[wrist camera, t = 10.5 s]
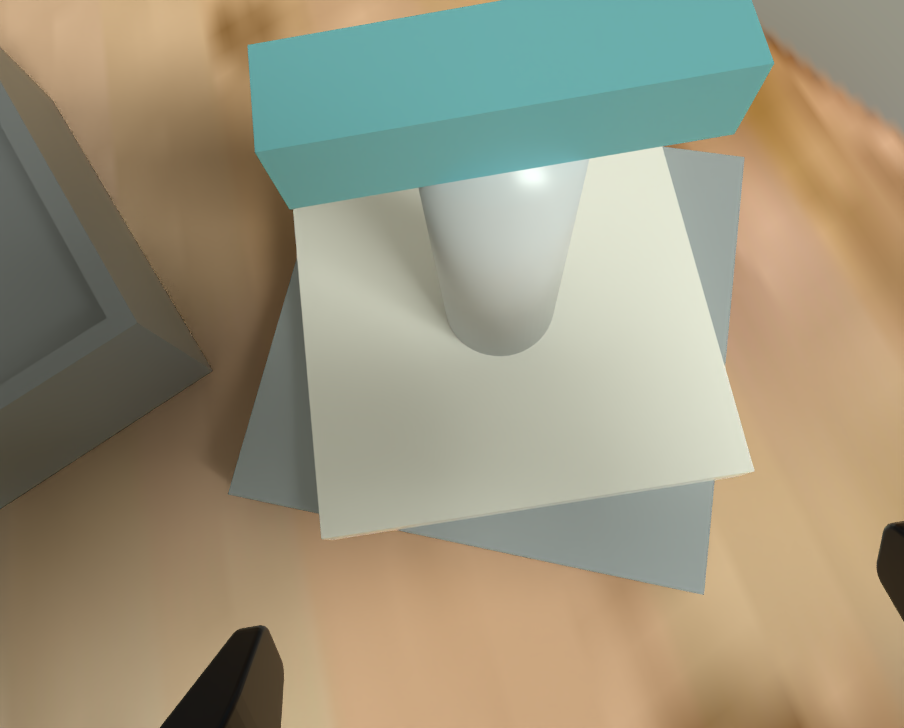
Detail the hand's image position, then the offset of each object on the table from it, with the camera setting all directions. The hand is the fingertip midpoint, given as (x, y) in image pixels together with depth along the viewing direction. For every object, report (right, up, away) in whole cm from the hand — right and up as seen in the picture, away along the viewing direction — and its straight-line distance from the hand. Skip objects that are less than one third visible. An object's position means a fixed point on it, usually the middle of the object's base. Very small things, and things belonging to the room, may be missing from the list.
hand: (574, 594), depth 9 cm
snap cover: (0, +5, +10) cm, 11 cm away
